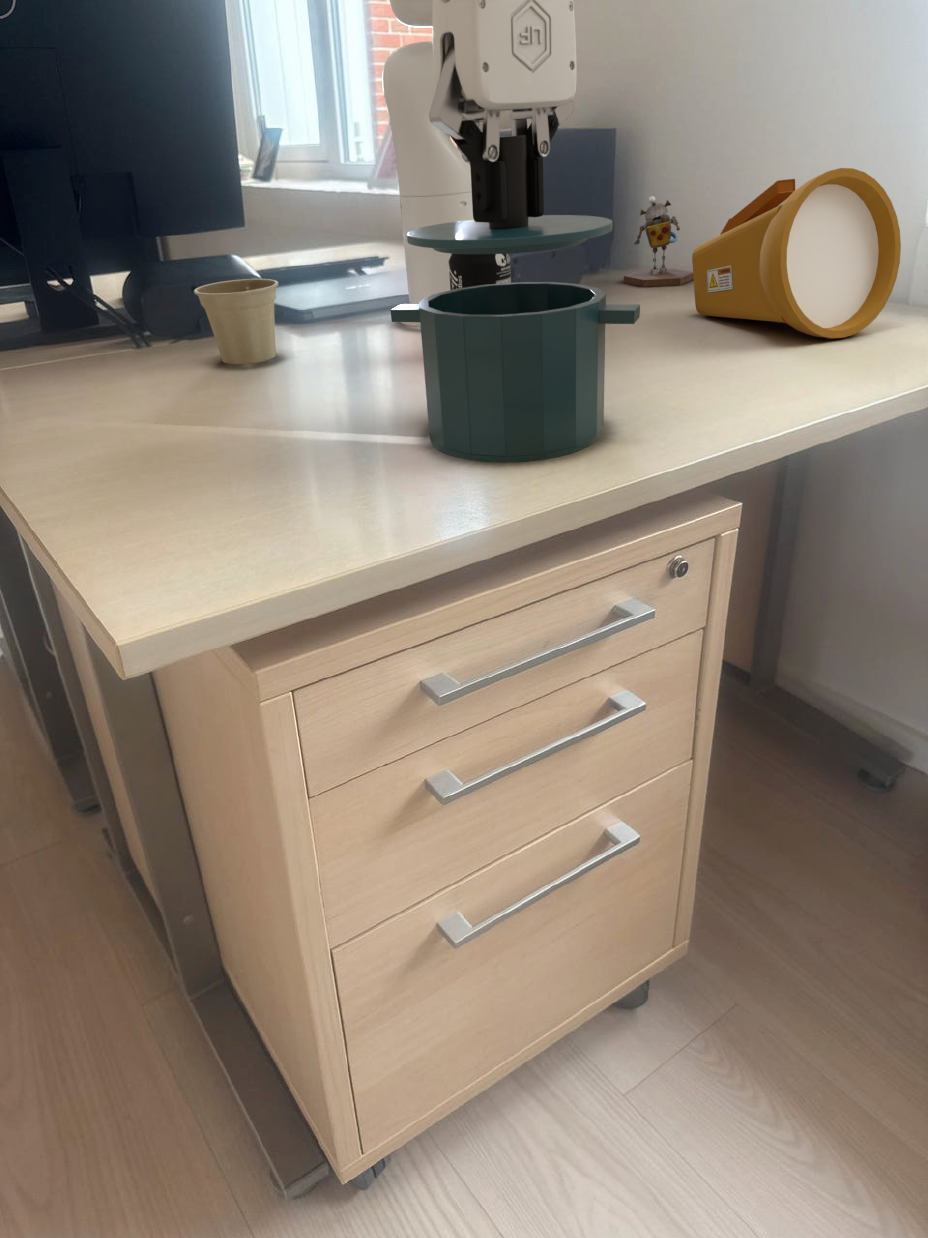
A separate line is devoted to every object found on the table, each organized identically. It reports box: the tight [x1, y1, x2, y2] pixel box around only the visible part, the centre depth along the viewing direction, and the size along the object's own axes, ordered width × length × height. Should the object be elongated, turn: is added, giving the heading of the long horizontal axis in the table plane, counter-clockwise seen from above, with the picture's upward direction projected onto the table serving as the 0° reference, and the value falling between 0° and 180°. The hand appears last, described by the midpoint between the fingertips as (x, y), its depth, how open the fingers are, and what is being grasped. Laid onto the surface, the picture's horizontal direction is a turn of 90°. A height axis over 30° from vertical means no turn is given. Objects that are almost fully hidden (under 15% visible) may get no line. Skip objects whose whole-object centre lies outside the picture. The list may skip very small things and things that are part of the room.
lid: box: [407, 135, 613, 254], centre depth 65 cm, size 16×16×7 cm
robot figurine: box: [623, 195, 694, 288], centre depth 133 cm, size 11×9×12 cm
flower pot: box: [193, 278, 279, 365], centre depth 102 cm, size 9×9×9 cm
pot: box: [390, 281, 641, 463], centre depth 72 cm, size 15×20×11 cm
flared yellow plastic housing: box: [691, 167, 902, 339], centre depth 102 cm, size 20×17×18 cm
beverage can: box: [449, 253, 512, 290], centre depth 96 cm, size 7×7×12 cm
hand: (508, 216), depth 66 cm, fingers closed on lid, 3 cm apart
